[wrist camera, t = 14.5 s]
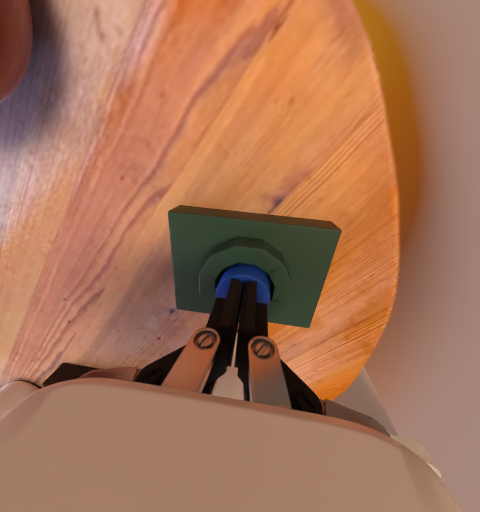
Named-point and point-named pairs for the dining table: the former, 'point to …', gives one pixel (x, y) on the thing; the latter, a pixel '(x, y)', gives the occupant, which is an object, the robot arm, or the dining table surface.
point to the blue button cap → (245, 281)
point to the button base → (251, 258)
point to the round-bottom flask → (14, 44)
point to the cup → (14, 394)
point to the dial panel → (66, 373)
